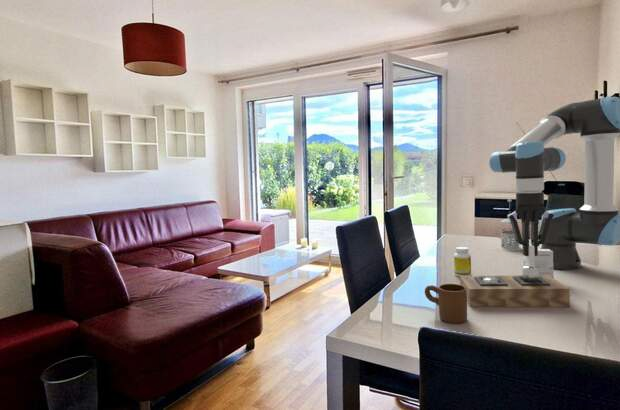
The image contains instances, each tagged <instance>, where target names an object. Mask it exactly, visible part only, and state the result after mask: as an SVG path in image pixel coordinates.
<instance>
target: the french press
mask: <svg viewBox="0 0 620 410" xmlns="http://www.w3.org/2000/svg"><path fill="white" fill-rule="evenodd" d="M512 201H513V200H512V199H511V198H508V199H507V202H509V206H508V207H509V208H511V202H512ZM516 220H517V223H518V224H519V223H520V221H519V220H518V219H516ZM500 222H501V224H499V225H498V226H497V227H496V229H495V235H496V237H497V238H498V239H500V241H501V246H499V249H500V250H502V251H507V252H509V251H511V252H512V251H513V252H515V251H521V250H522V248H521V247H520V244H518V243H517V242H516V239H515V236H514V232H513V229H512V227H508V228H507V227H506V228H504V224H509V225H511V221H510V220H509V219H508V218H505V219H502V220H500ZM500 228H502V229H501V230H502V231H501V233H500V234H501V237H500V236H499V234H498V233H499V229H500Z"/></svg>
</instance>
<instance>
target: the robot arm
mask: <svg viewBox="0 0 620 410" xmlns="http://www.w3.org/2000/svg"><path fill="white" fill-rule="evenodd" d="M571 134H579V135H580V136H579V137H580V138H581V139H582V140H583V141H584V192H583V193H584V200H583V201H584V204H583V205H582V206H581V207H580V208H579V210H578V211H579V212H577V210H576V208H571V207H570V208H558V209H549V210H546V209H547V208H546V207H545V194H544V192H542V191H544V190H545V181H544V180H545V178H544V176H545V175H544V174H545V172H554V171H557V170H559V169H561V168H562V167H563V166H564V165H565V163H566V159H567V158H566V157H567V156H566V154H565V152H564V151H563V149H561V148H559V147H553V146H552V147H545V146H547V145H548V144H549V143H551V142H552V141H553V140H556V139H559V138H561V137H562V136H564V135H565V136H566V135H571ZM618 136H620V97H617V96H608V97H601V98H599V97H598V98H596V99H589V100H584V101H578V102H572V103H569V104H566V105H563V106H561V107H559V108H556V109H555V110H553V111H552V112H550V113H548V114H547V115H546V116H544V117H543V118H541V120H540V121H539V123H538V125H537V126H535V127H534V128H533V129H531V131H529V132H528V133H526V134H525V135H524V136H522V137H521V138H520V139H519V140H517V141H516V142H514V143H513V144H512V145H510V147H508V148H507V149H506V150H503V151H502V150H500V151H495V152H493V153H491V155H490V157H489V159H488V160H489V161H488V163H489V168H490V169H491V171H492V172H494V173H503V174H504V173H515V191H516V193H515V208H514V211H513V212H510V213H508V214H507V215H506V218H507V219H509V220H510V221H511V224H510V226H511V229H513V232H514V236H513V237H515V239H516V242H517V243H518V244H519V245H521V246H522V254H523V255H524V256H526V265H527V266H529V267H535V256H537V255H538V249H539V247H540V245H541V247H540V249H550V250H551V251H553V270H554V269H555V270H577V269H580V268H581V267H582V260H581V258H580V255H579V252H578V249H577V245H576V244H577V243H583V244H590V245H598V246H611V247H613V246H616V245H617V244H618V243H619V242H620V213H619V208H618V207H616V205H614V188H615V187H614V185H615V184H614V183H615V182H614V179H615V141H616V138H617V137H618ZM518 218H519V219H520V221H521V222H520V223H521V231H520V226H519V223H517V220H518ZM540 219H541V220H540ZM539 220H540V221H539ZM540 223H541V224H540ZM539 224H540V228H539ZM523 255H522V256H523Z"/></svg>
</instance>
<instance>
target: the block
mask: <svg viewBox="0 0 620 410" xmlns="http://www.w3.org/2000/svg"><path fill="white" fill-rule="evenodd" d="M484 277H494V278H497V279H498V283H484V282H483V278H484ZM459 285H462V286H464V287H465V288H466V294H467V302H468V303H467V305H468V304H469V305H470V306H496V307H497V306H498V307H499V306H500V307H501V308H502V307H503V308H506V307H507V308H509V307H513V308H517V307H518V308H520V307H521V308H530V307H531V308H536V307H537V308H570V300H571V299H570V296H571V295H570V288H569V287H567V286H566V285H565V284H563V283H561V282H560V281H559V280H557V279H555V277H554V278H552V277H551V276H549V275H539V282H524V281H523V274H521V275H471V276H460V277H459ZM469 305H468V306H469ZM470 306H469V307H470ZM498 307H497V308H498ZM500 307H499V308H500Z"/></svg>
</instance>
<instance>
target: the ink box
mask: <svg viewBox="0 0 620 410" xmlns="http://www.w3.org/2000/svg"><path fill="white" fill-rule="evenodd" d="M522 256H523V265H526V256H524V255H522ZM535 266H538V267H539V275H549V276H551V277H552V278H554V279H555V277H554V269H553V251H551V250H550V249H541V248H538V255H537V256H535Z"/></svg>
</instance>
